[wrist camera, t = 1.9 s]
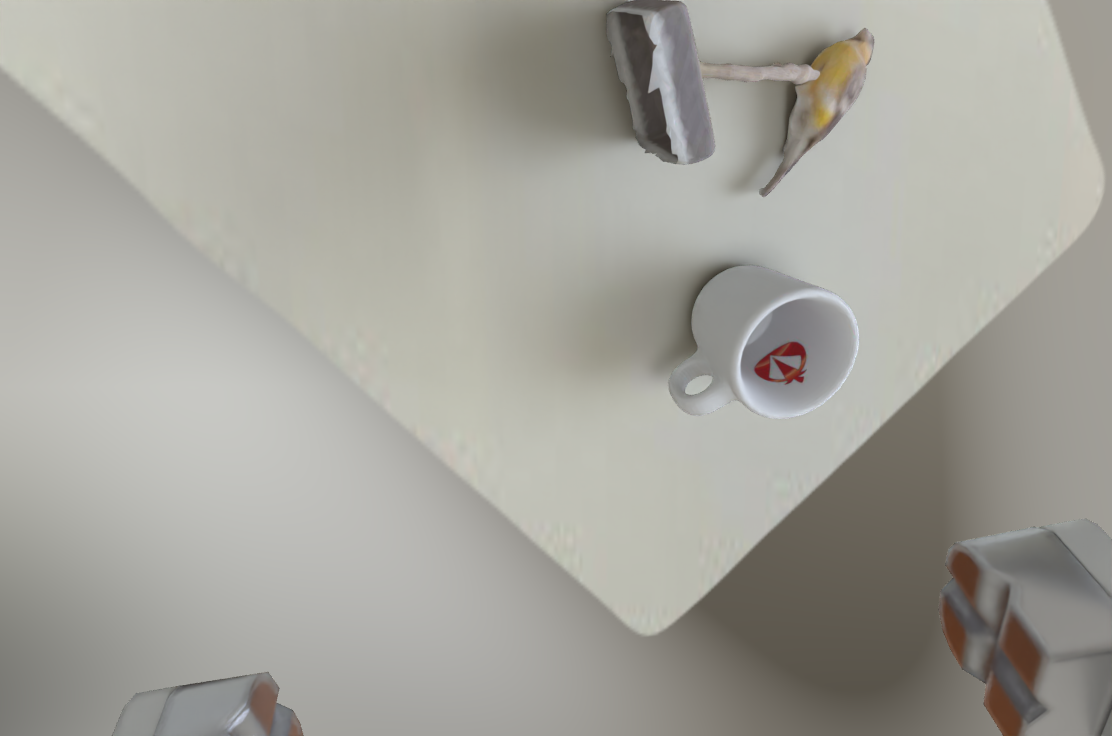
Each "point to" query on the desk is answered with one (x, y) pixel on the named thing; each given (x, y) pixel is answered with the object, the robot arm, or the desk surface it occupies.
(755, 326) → the cup
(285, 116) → the desk surface
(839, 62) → the decorative sculpture
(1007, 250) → the desk surface
